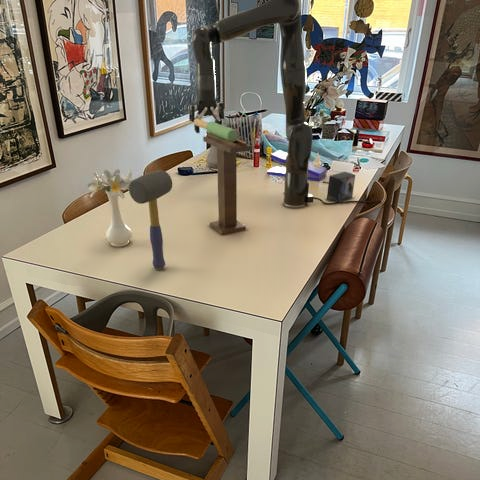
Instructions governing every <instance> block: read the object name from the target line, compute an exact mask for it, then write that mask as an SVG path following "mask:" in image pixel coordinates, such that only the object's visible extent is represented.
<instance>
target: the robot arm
mask: <svg viewBox="0 0 480 480" xmlns="http://www.w3.org/2000/svg"><path fill="white" fill-rule="evenodd" d="M302 6H303V5H302V0H267V1H266V2H264V3H262V4H260V5H258V6H255V7H253V8H250V9H246V10H243V11H239V12H237V13H234V14H231V15H228V16H225V17H223V18H221V19H219V20H218V21H216V22H214V23H211V24H207V25H204V26H202V25H201V26H197V27H196V28H195V29H194V30H193V33H192V39H191V40H192V41H191V42H192V50H193V54H194V59H195V92H196V93H195V94H196V104H189V106H188V107H189V108H188V111H189V112H188V113H189V114H188V120H189V121H190V122H191V123H193V125H194V126H193V128H194V132H195V134H200V133H201V131H200V130H201V129H200V128H201V127H199V126H196V125H195V124H194V120H195V119H200V120H202V119H203V117H209V116H210V117H211V116H212V117H213V119H214V122H215V123H217V124H220V125H221V120H224V119H225V109H224V103H223V102H220V101H219V102H217V87H216V85H217V84H216V75H215V74H216V73H215V71H216V70H215V67H216V66H215V59H214V58H213V56H212V48H213V47H215V46H217V45H220V44H222V43H224V42H228V41H230V40H234V39H237V38H240V37H242V36H245V35H246V34H249V33H251V32H253V31H255V30H258V29H260V28H263V27H266V26H270V25H276V24H278V25H279V31H280V57H279V69H280V80H281V81H280V82H281V88H282V96H283V101H284V107H285V136H286V138H287V140H288V148H287V153H288V155H287V156H286V166H285V168H286V169H285V176H284V189H283V190H284V191H283V202H282V203H283V206H284V207H286V208H289V209H301V208H304V207H307V206H308V204H310V203H311V204H312V203H314V200H317V201H319V202H321V203H322V204H324V205H327V206H331V205H342V204H351V203H353V204H354V203H359V204H360V203H361V204H373V203H380V204H381V202H383V201H382V200H380V199H374V200H344V201H341V202H325V201H323V199H322V198H320V197H315V195H313V194H311V193H309V191H310V183H309V182H308V166H309V162H310V158H311V156H312V149H313V148H312V147H313V136H314V135H313V129H312V127H311V125H309V124H308V123H307V118H306V112H305V98H306V92H307V67H306V58H305V51H304V45H303V37H302ZM216 109H218V111H216ZM196 111H197V112H196ZM217 112H218V113H217Z"/></svg>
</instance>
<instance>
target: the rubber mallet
mask: <svg viewBox="0 0 480 480" xmlns="http://www.w3.org/2000/svg"><path fill="white" fill-rule="evenodd" d="M172 188H173V179H172V177H171V175H170V174H169V173H168V172H167V171H165V170H163V169H159V170H155V171H151V172H146V173H145V174H143V175H140V176H138V177H136V178H135V180H133V181H131V183H130V184H129V190H128V193H129V195H130V197H131V199H132V200H133V201H134V202H135V203H137V204H139V205H141V204H142V205H143V204H147V203H148V210H149V220H150V222H149V223H150V226H149V238H150V239H149V240H150V245H151V251H152V266H153V268H154V269H155V270H156V271H162V270H164V268H165V266H166V262H165V257H164V247H163V246H164V245H163V243H164V239H163V232H162V227H161V225H160V217H159V207H158V199H159V198H161V197H164V196H166V195H167V194H168V193H170V192H171V191H172V190H173V189H172Z"/></svg>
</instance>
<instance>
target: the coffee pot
mask: <svg viewBox="0 0 480 480" xmlns="http://www.w3.org/2000/svg"><path fill="white" fill-rule="evenodd" d="M240 140H241V141H243V142H246V140H245V139H244V138H241V139H240ZM205 162H206V164H207V165H208V166H209V167H210V168H213V169H217V147H216V146H213V145H211V144H210V148H209V151H208V153H207V156H206V159H205Z"/></svg>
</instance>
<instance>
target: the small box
mask: <svg viewBox="0 0 480 480" xmlns="http://www.w3.org/2000/svg"><path fill="white" fill-rule="evenodd" d="M355 179H356V174H354V173H350V172H348V171H342V172H339V173H334V174H329V177H328V183H327V184H328V185H327V186H328V187H327V194H326V200H327V201H330V202H332V203H334V202H345V201H349V200H351V199H353V195H354V188H355V187H354V186H355V181H356V180H355Z"/></svg>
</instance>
